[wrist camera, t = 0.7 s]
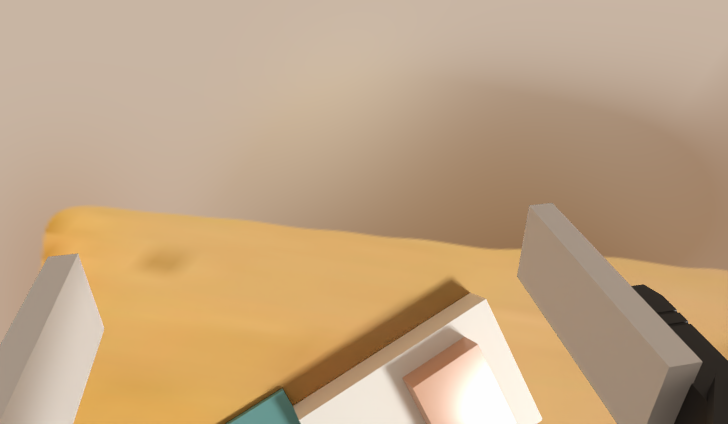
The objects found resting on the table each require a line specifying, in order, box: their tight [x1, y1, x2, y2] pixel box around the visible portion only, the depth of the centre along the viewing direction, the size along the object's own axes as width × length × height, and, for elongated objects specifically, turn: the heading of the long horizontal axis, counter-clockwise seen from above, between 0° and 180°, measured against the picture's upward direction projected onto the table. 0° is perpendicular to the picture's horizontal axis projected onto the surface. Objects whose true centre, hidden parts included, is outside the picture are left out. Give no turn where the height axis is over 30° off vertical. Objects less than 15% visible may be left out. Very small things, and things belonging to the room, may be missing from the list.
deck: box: [293, 293, 542, 424], centre depth 51 cm, size 14×20×3 cm
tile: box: [402, 337, 516, 424], centre depth 49 cm, size 10×7×2 cm
